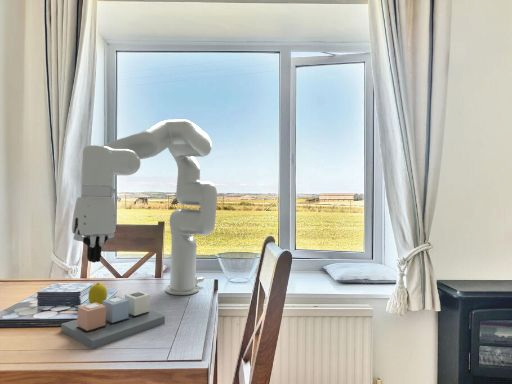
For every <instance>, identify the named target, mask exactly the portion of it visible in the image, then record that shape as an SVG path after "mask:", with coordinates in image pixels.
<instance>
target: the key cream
mask: <svg viewBox="0 0 512 384" xmlns="http://www.w3.org/2000/svg"><path fill="white" fill-rule="evenodd" d="M124 299H127V300H129V314H131V315H134V317H137V316H140V315H139V314H142V313H145V312H148V311H149V310H150V294H148V293H146V292H143V291H135V292H131V293H127V294H125V295H124ZM136 315H137V316H136Z"/></svg>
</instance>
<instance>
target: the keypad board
mask: <svg viewBox="0 0 512 384" xmlns="http://www.w3.org/2000/svg"><path fill="white" fill-rule="evenodd" d="M77 319H78V318H77ZM77 319H74V320H70V321H67V322H63V323H61V328H60V329H61V332H62V333H63V334H66V335H67V336H69V337H71V338H72V339H74V340H76V341H78V342H79V343H81V344H83V345H85V346H87V347H88V348H89V349H92V350H93V349H97V348H99V347H101V346H105V345H107V344H110V343H113V342H116V341H118V340H121V339H124V338H126V337H129V336H133V335H135V334H138V333H140V332H143V331H147V330H149V329H151V328H155V327H157V326H159V325H163V324H165V323H166V322H165V321H166V320H165V319H166V315H163V314H160V313H157V312H155V311H153V310H150V309H149V311H148V312H145V313H142V314H139V315H136V316H134V315H131V314H128V318H126V319H123V320H120V321H117V322H113V323H111V322H109V321H107V320H106V321H105V325H104V326H101V327H98V328H94V329H91V330H88V331H87V330H85V329H83V328H81V327H79V326H77ZM92 330H93V331H92Z"/></svg>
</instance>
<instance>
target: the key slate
mask: <svg viewBox="0 0 512 384" xmlns="http://www.w3.org/2000/svg"><path fill="white" fill-rule="evenodd" d="M102 305H104V306H106V320H107V321H109V322H111V323H112V324H114V323H113V322H115V323H118V322H119V321H120V320H123V319H126V318H128V314H129V300H127V299H125V297H124V298H123V297H121V296H116V297H111V298H109V299H108V298H107V299H106V300H103V304H102ZM117 321H118V322H117Z"/></svg>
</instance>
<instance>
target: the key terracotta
mask: <svg viewBox="0 0 512 384" xmlns="http://www.w3.org/2000/svg"><path fill="white" fill-rule="evenodd" d="M105 321H106V306H104V305H103V304H102V305H101V304H99V303H96V302H95V303H87V304H84V305H81V306H77V326H79V327H81V328H83V329H85V330H87V331H86V332H89V331H88V330H90V331H92V330H91V329H93V330H95V329H94V328H98V327H101V326H104V325H105Z"/></svg>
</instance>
